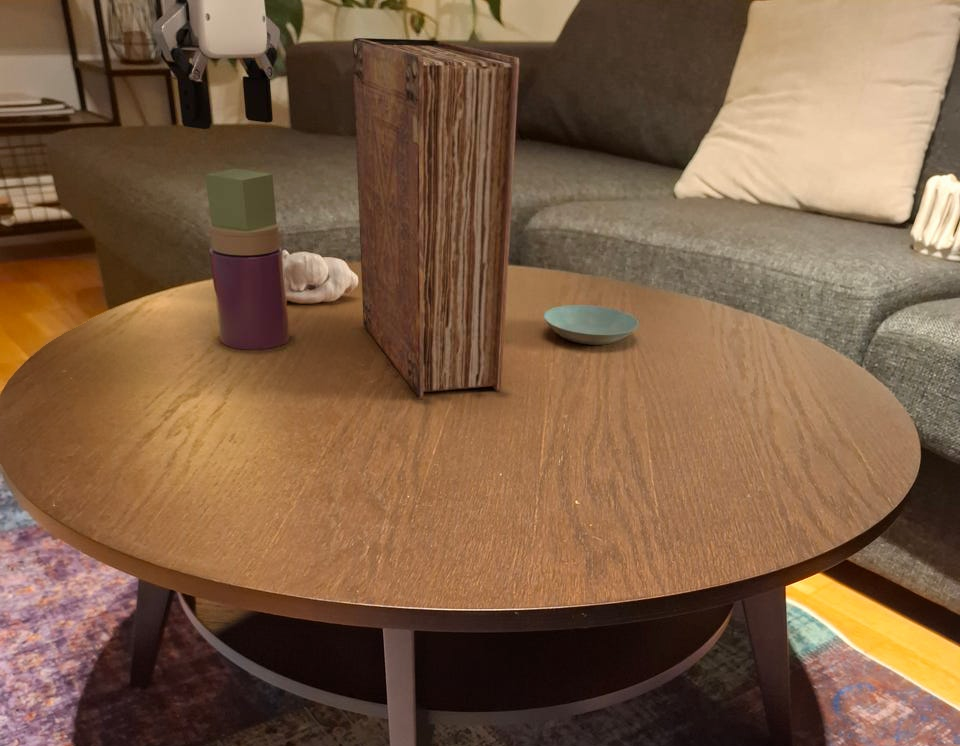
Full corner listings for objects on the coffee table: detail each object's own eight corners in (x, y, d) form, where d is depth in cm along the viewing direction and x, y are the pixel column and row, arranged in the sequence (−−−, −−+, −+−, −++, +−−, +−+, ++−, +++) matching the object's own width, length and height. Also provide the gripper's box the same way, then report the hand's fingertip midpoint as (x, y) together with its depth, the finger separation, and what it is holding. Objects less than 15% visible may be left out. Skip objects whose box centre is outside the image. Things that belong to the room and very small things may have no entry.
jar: (206, 341, 105) (191, 231, 98) (250, 324, 111) (239, 219, 104) (260, 354, 102) (249, 242, 95) (303, 336, 108) (295, 228, 101)
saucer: (646, 331, 115) (648, 313, 114) (622, 358, 106) (625, 339, 105) (558, 317, 119) (560, 299, 117) (528, 342, 110) (530, 323, 108)
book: (501, 392, 96) (520, 58, 78) (418, 400, 93) (418, 55, 75) (433, 321, 115) (436, 40, 97) (362, 325, 112) (352, 37, 95)
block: (211, 225, 98) (205, 174, 95) (241, 217, 102) (236, 168, 99) (247, 231, 97) (242, 180, 94) (276, 223, 100) (272, 173, 97)
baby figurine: (365, 298, 123) (358, 254, 115) (292, 343, 120) (280, 301, 112) (328, 257, 125) (319, 210, 117) (256, 300, 122) (241, 255, 114)
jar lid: (196, 248, 99) (193, 225, 98) (240, 236, 105) (238, 214, 103) (250, 259, 97) (248, 235, 95) (293, 246, 102) (291, 223, 101)
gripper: (238, -79, 91) (254, 115, 101) (108, -99, 78) (140, 126, 88) (299, -77, 89) (308, 122, 98) (174, -97, 76) (200, 134, 86)
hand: (229, 124), depth 93 cm, fingers open, 9 cm apart
